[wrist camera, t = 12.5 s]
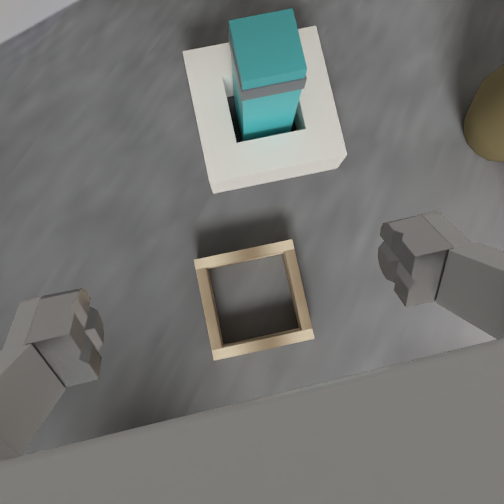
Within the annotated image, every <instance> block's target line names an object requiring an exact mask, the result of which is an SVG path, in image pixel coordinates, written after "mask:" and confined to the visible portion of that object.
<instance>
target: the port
mask: <svg viewBox="0 0 504 504" xmlns="http://www.w3.org/2000/svg"><path fill="white" fill-rule="evenodd" d="M298 32H299V36H300V41H301V45H302V49H303V53H304V57H305V62H306V66H307V72H306V78H307V80H306V84H305V87H304V89H302V90H301V94H300V98H299V102H298V105H297V109H296V113H295V117H294V121H295V125H296V129H297V131H293V132H288V133H283V134H278V135H273V136H268V137H263V138H258V139H253V140H248V141H243V142H238V143H236V138H235V133H234V129H233V124H232V120H231V115H230V110H229V106H228V101H227V97H230V96H234V88H233V74H232V60H231V51H230V46H229V43H223V44H218V45H213V46H208V47H203V48H197V49H192V50H187V51H182V52H183V57H184V61H185V66H186V71H187V76H188V81H189V86H190V91H191V95H192V100H193V105H194V110H195V115H196V120H197V124H198V129H199V134H200V139H201V144H202V149H203V153H204V158H205V163H206V168H207V173H208V178H209V183H210V185H211V188H212V191H213V194H214V193H219V192H224V191H229V190H234V189H239V188H244V187H249V186H254V185H258V184H263V183H268V182H273V181H278V180H283V179H288V178H293V177H297V176H302V175H307V174H312V173H317V172H322V171H327V170H332V169H337V168H338V167H339V165H340V164H341V162H342V161H343V160H344V158H345V157H346V156H347V152H346V148H345V144H344V139H343V135H342V131H341V127H340V123H339V119H338V115H337V111H336V107H335V102H334V98H333V94H332V90H331V86H330V82H329V78H328V74H327V69H326V65H325V61H324V57H323V53H322V49H321V45H320V41H319V36H318V32H317V28H316V26H312V27H306V28H301V29H298Z"/></svg>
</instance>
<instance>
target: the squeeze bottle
mask: <svg viewBox="0 0 504 504" xmlns="http://www.w3.org/2000/svg"><path fill="white" fill-rule="evenodd" d="M463 132H464V135H465V138H466V141H467V144H468V145H469V146H470V147H471V148H472V150H473V151H474V152H475V153H476V154H477V155H479V156H481V157H483V158H485V159H487V160H489V161H498V162H504V65H502V66H501V67H499V68H498V69H497V70H495V71H494V72H493V73H492V74H490V75H489V76H488V77H486V78H485V79H484V80H483V81H482V83H481V85H480V87H479V89H478V91H477V93H476V94H475V96H474V99H473V101H472V103H471V105H470V108H469V110H468V112H467V114H466V117H465V119H464V131H463Z"/></svg>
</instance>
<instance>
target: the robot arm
mask: <svg viewBox="0 0 504 504" xmlns="http://www.w3.org/2000/svg"><path fill="white" fill-rule="evenodd" d="M380 236H381V237H382V239H383V240H384V242H383V243H382V244H381V245H380V247H379V249H378V260H379V265H380V268H381V271H382V273H383V274H384V276H385V278H386V279H387V280H389V281H391V282H394V283H395V287H394V291H395V292H396V294H397V295H398V297H399V298H400V300H401V301H402V303H403V304H404V305H405V307H409V306H414V305H419V304H424V303H429V302H433V301H436V303H437V304H439V305H441V306H442V307H444V308H446V309H447V310H449V311H451V312H452V313H454V314H456V315H457V316H459V317H461V318H462V319H464V320H466V321H467V322H469V323H471V324H473V325H474V326H476V327H478V328H479V329H481V330H483V331H484V332H486V333H488V334H489V335H491V336H493V337H494V338H496V339H498V340H494V341H490V342H486V343H481V344H477V345H473V346H469V347H465V348H461V349H457V350H453V351H449V352H445V353H440V354H436V355H432V356H428V357H424V358H420V359H416V360H412V361H408V362H404V363H400V364H395V365H391V366H387V367H383V368H379V369H375V370H371V371H367V372H363V373H359V374H355V375H350V376H346V377H342V378H338V379H334V380H330V381H326V382H322V383H318V384H314V385H310V386H305V387H301V388H297V389H293V390H289V391H285V392H281V393H277V394H273V395H269V396H264V397H260V398H256V399H252V400H248V401H244V402H240V403H236V404H232V405H228V406H223V407H219V408H215V409H211V410H207V411H203V412H199V413H195V414H191V415H187V416H182V417H178V418H174V419H170V420H166V421H162V422H158V423H154V424H150V425H146V426H142V427H137V428H133V429H129V430H125V431H121V432H117V433H113V434H109V435H105V436H101V437H96V438H92V439H88V440H84V441H80V442H76V443H72V444H68V445H64V446H60V447H56V448H51V449H47V450H43V451H39V452H35V453H31V454H27V455H23V456H21V455H22V453H23V452H24V450H25V449H26V447H27V446H28V444H29V443H30V441H31V440H32V438H33V437H34V435H35V434H36V433H37V431H38V430H39V428H40V427H41V425H42V424H43V422H44V421H45V419H46V418H47V416H48V415H49V413H50V412H51V411H52V409H53V408H54V406H55V405H56V403H57V402H58V400H59V399H60V397H61V396H62V394H63V393H64V391H65V390H66V389H65V388H66V387H70V386H74V385H77V384H81V383H85V382H89V381H93V380H97V379H99V373H100V365H101V356H100V354H99V352H98V349H99V348H100V347H101V346H102V345H103V340H104V330H103V323H102V320H101V317H100V315H99V313H98V311H97V310H96V309H94V308H92V307H90V299H91V298H90V297H89V295H88V293H87V292H86V290H85V289H82V288H81V289H76V290H70V291H65V292H60V293H55V294H50V295H45V296H41V297H36V298H31V299H26V300H23V301H22V302H21V303H20V304H19V306H18V309H17V311H16V314H15V317H14V319H13V322H12V325H11V328H10V330H9V333H8V336H7V338H6V341H5V344H4V346H3V349H2V350H1V351H0V504H504V252H503V251H500V250H497V249H495V248H492V247H489V246H486V245H483V244H480V243H477V244H473V243H472V242H471V241H470V240H469V239H468V238H466V237H465V236H464V235H463V234H462V233H461V232H460V231H459V230H458V229H457V228H456V227H455V226H454V225H453V224H452V223H451V222H450V221H449V220H448V219H447V218H446V217H445V216H443V215H442V214H441V213H440V212H438V211H432V212H428V213H424V214H420V215H418V216H413V217H408V218H404V219H399V220H395V221H390V222H386V223H383V224H382V227H381V231H380Z"/></svg>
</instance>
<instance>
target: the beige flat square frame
mask: <svg viewBox="0 0 504 504" xmlns="http://www.w3.org/2000/svg"><path fill="white" fill-rule="evenodd" d="M278 254H282V255H283V260H284V264H285V269H286V273H287V278H288V282H289V287H290V291H291V296H292V300H293V305H294V309H295V314H296V318H297V323H298V327H299V328H297V329H292V330H288V331H283V332H279V333H274V334H269V335H265V336H260V337H256V338H251V339H246V340H242V341H237V342H232V343H228V344H223V339H222V334H221V329H220V324H219V319H218V314H217V309H216V304H215V299H214V294H213V289H212V284H211V279H210V274H209V269H212V268H216V267H221V266H226V265H231V264H235V263H240V262H245V261H250V260H254V259H259V258H264V257H268V256H273V255H278ZM194 263H195V268H196V273H197V278H198V283H199V288H200V293H201V298H202V303H203V308H204V313H205V318H206V324H207V329H208V334H209V339H210V344H211V349H212V354H213V359H214V361H215V360H219V359H224V358H228V357H233V356H237V355H242V354H247V353H251V352H256V351H260V350H265V349H270V348H274V347H279V346H283V345H288V344H292V343H297V342H302V341H306V340H311V339H314V334H313V330H312V325H311V321H310V316H309V312H308V307H307V303H306V299H305V294H304V290H303V285H302V281H301V276H300V272H299V267H298V263H297V258H296V254H295V249H294V245H293V241H292V239H291V240H286V241H281V242H276V243H272V244H267V245H262V246H257V247H252V248H248V249H243V250H238V251H233V252H229V253H224V254H219V255H214V256H210V257H205V258H200V259H195V260H194Z"/></svg>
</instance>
